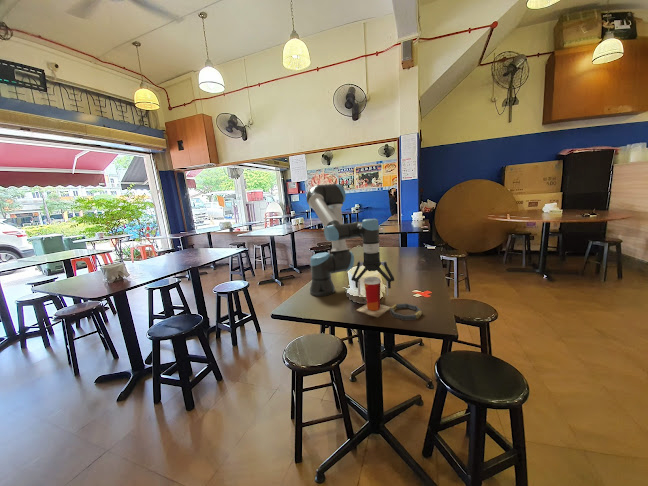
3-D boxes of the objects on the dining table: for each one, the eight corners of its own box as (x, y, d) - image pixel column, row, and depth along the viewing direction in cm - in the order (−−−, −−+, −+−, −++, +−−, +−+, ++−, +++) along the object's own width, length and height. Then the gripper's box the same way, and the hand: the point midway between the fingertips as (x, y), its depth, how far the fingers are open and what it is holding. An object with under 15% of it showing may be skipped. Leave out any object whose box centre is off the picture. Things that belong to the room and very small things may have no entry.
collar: (385, 314, 117) (385, 310, 116) (399, 305, 126) (399, 301, 125) (412, 322, 108) (412, 318, 107) (425, 312, 117) (425, 307, 116)
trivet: (356, 310, 123) (356, 309, 123) (370, 302, 131) (370, 301, 131) (377, 317, 115) (377, 316, 115) (391, 308, 123) (391, 307, 123)
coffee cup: (373, 303, 129) (371, 275, 126) (385, 308, 122) (384, 278, 120) (361, 308, 124) (359, 279, 122) (373, 313, 117) (372, 282, 115)
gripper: (344, 253, 118) (346, 296, 121) (399, 253, 111) (400, 298, 115) (346, 250, 125) (349, 290, 129) (398, 249, 118) (399, 292, 122)
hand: (373, 294), depth 122 cm, fingers open, 13 cm apart
